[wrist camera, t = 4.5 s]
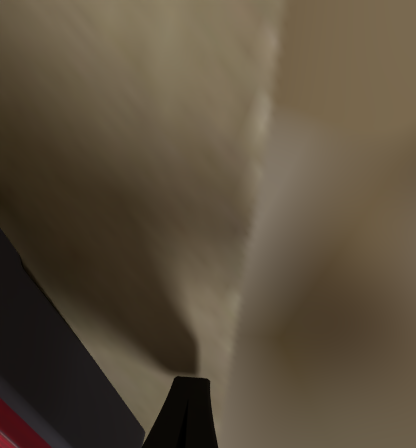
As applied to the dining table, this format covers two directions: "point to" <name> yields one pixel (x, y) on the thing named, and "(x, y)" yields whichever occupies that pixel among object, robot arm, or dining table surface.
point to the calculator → (51, 375)
